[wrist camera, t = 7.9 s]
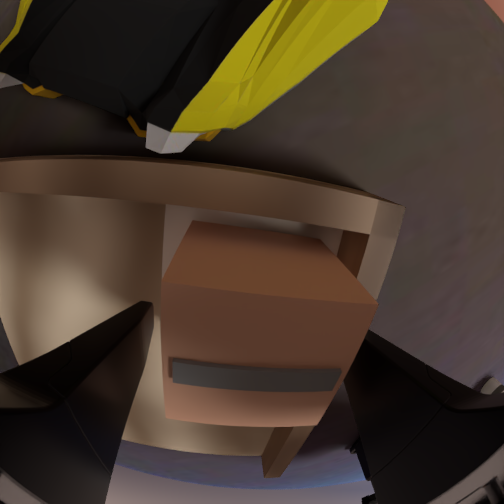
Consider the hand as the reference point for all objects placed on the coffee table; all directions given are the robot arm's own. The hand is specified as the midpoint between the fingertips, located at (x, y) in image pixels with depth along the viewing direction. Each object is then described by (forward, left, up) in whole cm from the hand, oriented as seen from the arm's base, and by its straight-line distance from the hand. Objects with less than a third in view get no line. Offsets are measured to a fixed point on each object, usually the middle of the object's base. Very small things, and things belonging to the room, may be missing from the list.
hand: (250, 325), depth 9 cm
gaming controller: (+6, -11, -4) cm, 13 cm away
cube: (0, 0, -3) cm, 3 cm away
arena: (+5, +5, -4) cm, 8 cm away
